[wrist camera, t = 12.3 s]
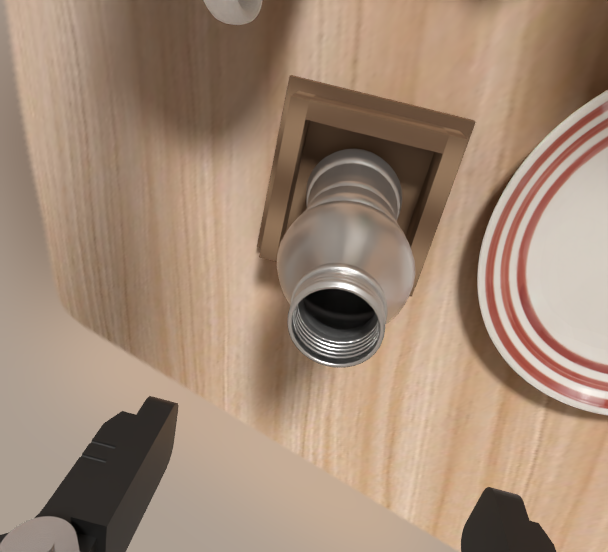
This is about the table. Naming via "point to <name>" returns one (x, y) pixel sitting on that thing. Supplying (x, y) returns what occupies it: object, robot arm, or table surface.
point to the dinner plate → (554, 263)
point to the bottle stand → (371, 137)
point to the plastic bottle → (346, 260)
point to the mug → (234, 10)
